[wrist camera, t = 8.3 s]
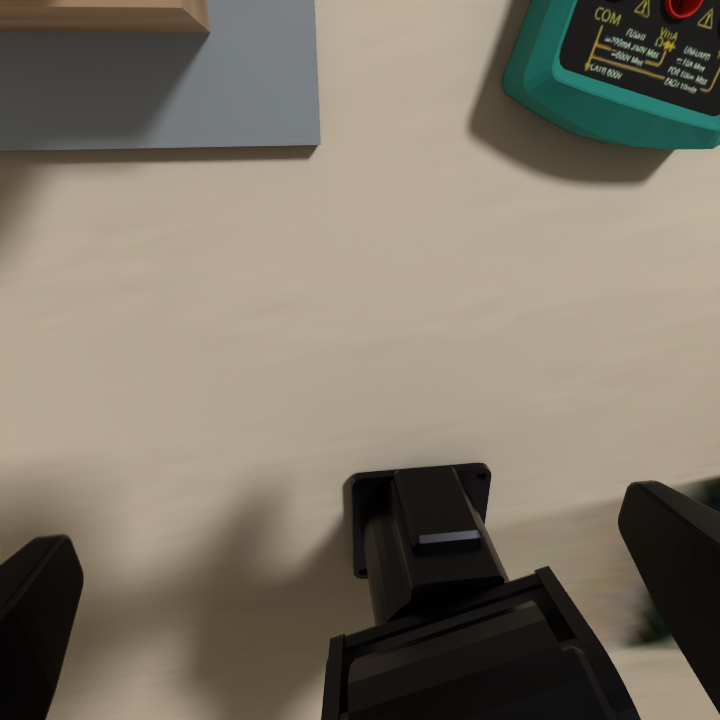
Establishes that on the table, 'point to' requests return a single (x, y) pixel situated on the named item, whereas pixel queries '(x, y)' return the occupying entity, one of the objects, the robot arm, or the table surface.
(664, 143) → the digital multimeter
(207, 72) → the grey flat square plate
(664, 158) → the table surface
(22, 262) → the table surface
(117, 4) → the walnut base block
